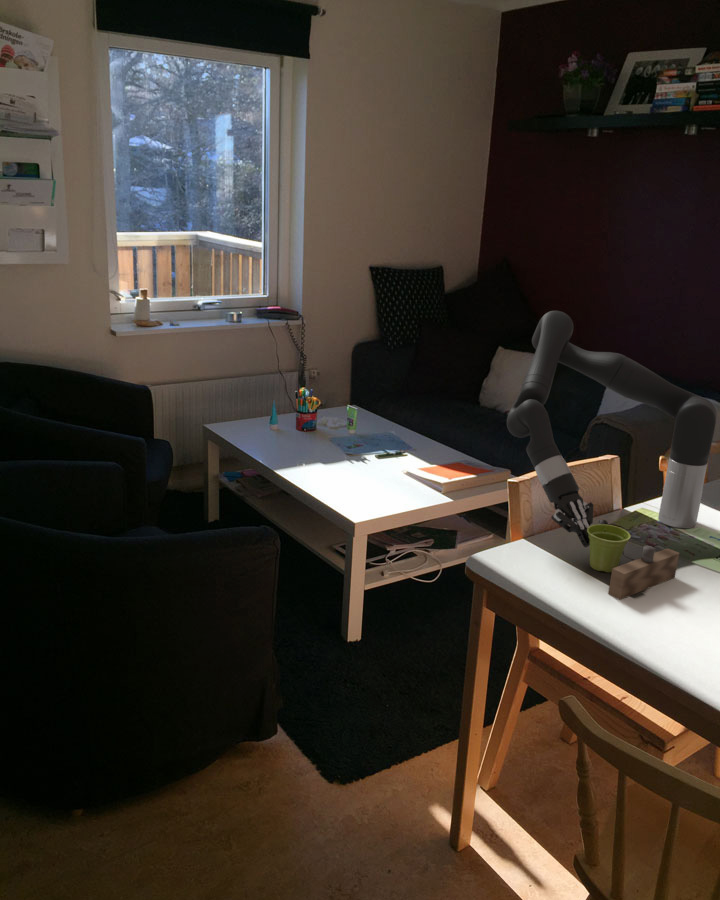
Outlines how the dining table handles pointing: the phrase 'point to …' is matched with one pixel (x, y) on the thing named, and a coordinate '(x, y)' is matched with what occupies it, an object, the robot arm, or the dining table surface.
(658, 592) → the dining table surface
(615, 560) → the plant pot
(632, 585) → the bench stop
